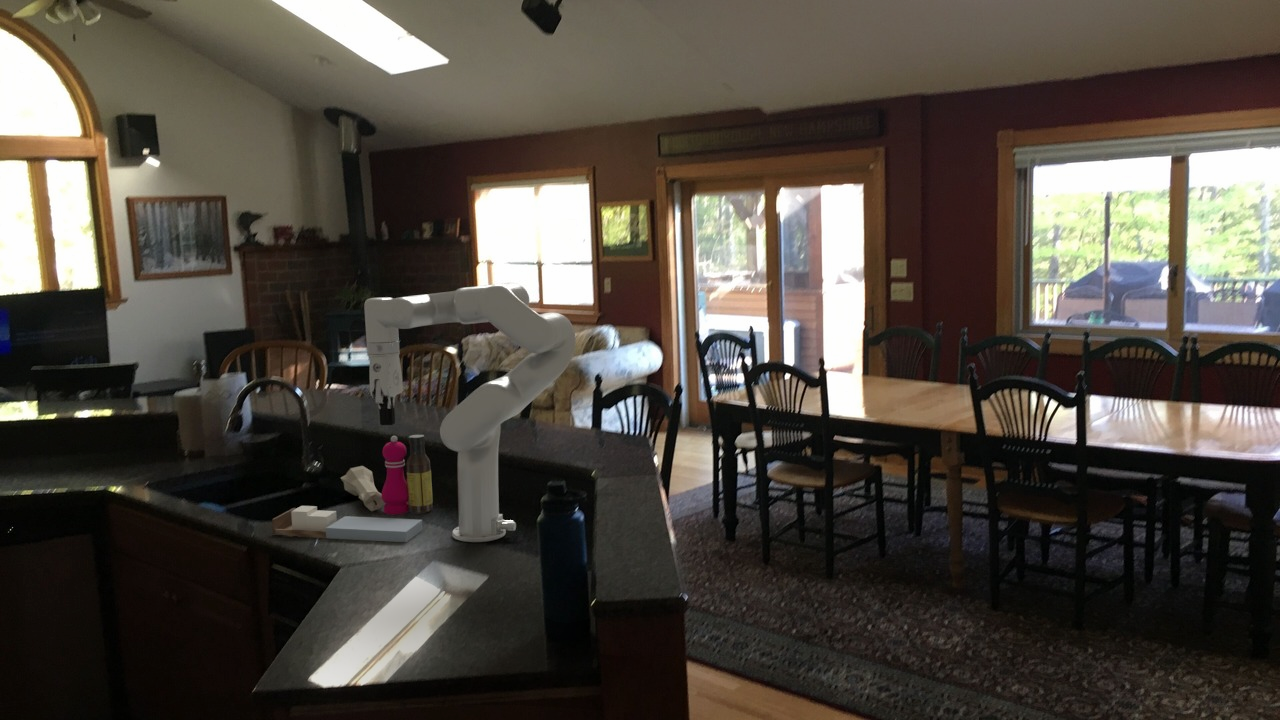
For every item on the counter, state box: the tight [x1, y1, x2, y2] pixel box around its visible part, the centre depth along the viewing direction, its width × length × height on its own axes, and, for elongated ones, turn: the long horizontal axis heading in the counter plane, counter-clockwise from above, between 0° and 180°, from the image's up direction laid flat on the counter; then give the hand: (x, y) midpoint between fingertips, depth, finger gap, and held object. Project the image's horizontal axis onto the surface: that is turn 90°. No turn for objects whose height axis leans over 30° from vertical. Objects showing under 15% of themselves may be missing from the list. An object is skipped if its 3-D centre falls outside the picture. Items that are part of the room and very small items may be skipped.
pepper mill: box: [381, 435, 410, 516], centre depth 254 cm, size 7×7×20 cm
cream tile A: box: [307, 509, 338, 531], centre depth 237 cm, size 5×5×4 cm
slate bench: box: [325, 515, 424, 543], centre depth 235 cm, size 20×10×2 cm, turn 81°
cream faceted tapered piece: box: [340, 465, 385, 512], centre depth 264 cm, size 9×8×25 cm
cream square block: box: [291, 505, 318, 530], centre depth 238 cm, size 5×5×4 cm
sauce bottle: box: [405, 434, 434, 514], centre depth 254 cm, size 6×6×20 cm
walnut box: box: [271, 507, 339, 539], centre depth 238 cm, size 14×10×4 cm
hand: (387, 424), depth 237 cm, fingers closed
